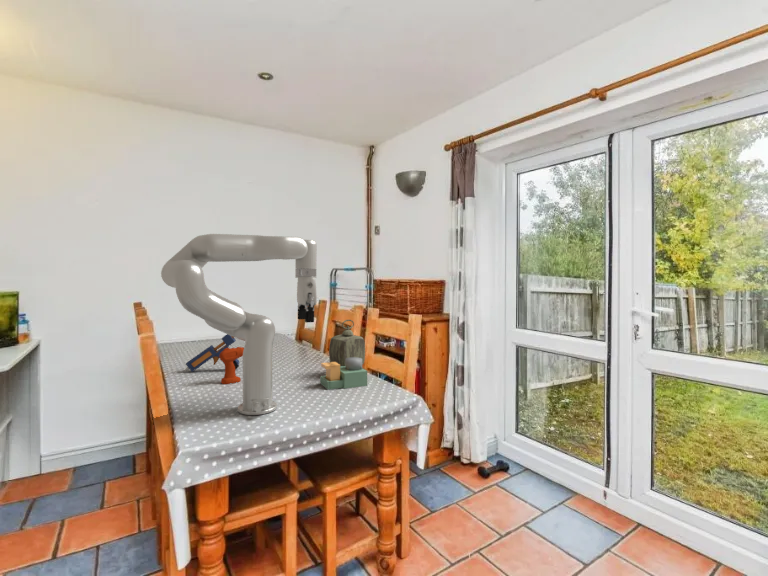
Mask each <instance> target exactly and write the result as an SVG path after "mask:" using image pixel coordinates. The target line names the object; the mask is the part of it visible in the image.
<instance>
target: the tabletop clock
mask: <svg viewBox="0 0 768 576" xmlns="http://www.w3.org/2000/svg"><path fill="white" fill-rule="evenodd" d="M346 322H351V323H352V325H351V326H349V325H346V327H345V326H344V323H346ZM354 326H355V322H354V321H353V320H352V319H345V320H344V321H342V323H341V327H342V329H344V330H343V331H342V334H339V335H334V336H332V337H331V338H330V341H329V350H328V354H329V355H328V357H329V362H336V363H338V364H340V366H345V360H346V358H351V357H357V358H362V366H363V365H364V364H365V360H366V343H365V339H364V337H363V336H360V335H354V332H353V330H352V329H353V328H354Z"/></svg>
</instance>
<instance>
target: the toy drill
mask: <svg viewBox="0 0 768 576" xmlns="http://www.w3.org/2000/svg"><path fill="white" fill-rule="evenodd" d="M244 347H245V346H244ZM244 347H242V346H236V347H231V348H230V347H228V348H225V349H224V350H223V351H222V352H221V353H220V355H219V360H220V361H221V362H222V363H223V362H224V363H223V365H224V374H223V375H224V376H223V377H222V378H221V380H220V381H221V382H220V383H222V385H231V384H230V383H232V384H236V382H237V383H241V379H242V378H241V377H240V376H237V375H236V370H237V369H238V368H239V366H240V364H239V365H237V363H236V361H234V360H236V359H238V360H239V358H243V351H244Z"/></svg>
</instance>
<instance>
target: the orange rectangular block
mask: <svg viewBox="0 0 768 576" xmlns="http://www.w3.org/2000/svg"><path fill="white" fill-rule="evenodd" d="M320 367H322V368H323V369H325V376H326V379H327V380H329V381H336V380H340V364H338V363H336V362H330V361H329V362H327V361H326V362H321V363H320Z"/></svg>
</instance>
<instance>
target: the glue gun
mask: <svg viewBox="0 0 768 576" xmlns="http://www.w3.org/2000/svg"><path fill="white" fill-rule="evenodd" d="M221 340H222V342H220V343H218V345H217V346H214V345H212V344H210V345H209V346H208V347H207V348H206V349H204V350H203V351H201V352H200V353H198V354H197V355H195V356H194V357H192V358H191V359H190V360H188V361H187V362H186V363H185V365H186V368H185V369H184V370H183V371H182V373H184V372H186V371H190V372H192V373H193V372H194V371H196V370H197V369H198V368H200V367H201V366H203V365H204V364H206V363H207V362H208V361H210V360H213V366H215V365H216V364H217V363H218V362H219V360H220V358H219V355H220V353H221V352H222V351H223V350H224V349H225V348H230V346H231V345H232V344H234V343H235V342H236V339H235V337H233V336H230V335H228V334H225V335H224V336H222V338H221ZM234 361H236V363H237V365H239V366H240V360H239V358H238V359H236V360H234ZM222 363H223V364H224V362H222Z"/></svg>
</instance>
